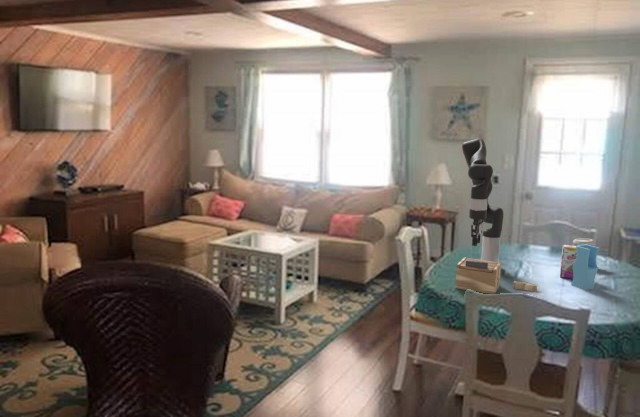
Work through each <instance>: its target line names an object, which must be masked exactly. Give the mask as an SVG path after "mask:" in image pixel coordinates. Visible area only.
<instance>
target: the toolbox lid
mask: <svg viewBox="0 0 640 417" xmlns="http://www.w3.org/2000/svg"><path fill="white" fill-rule="evenodd" d="M497 264H498V262H493V261H485V260H481V259H477V258H476V259H475V258H470V257H469V258H468V257H467V259H466V260H465V261H464V262H463V263H462V264H461V265H460V268H464V269H471V270H478V271H485V272H493V269H494V268H495V266H496V265H497Z"/></svg>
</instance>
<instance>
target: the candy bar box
mask: <svg viewBox="0 0 640 417" xmlns="http://www.w3.org/2000/svg"><path fill="white" fill-rule="evenodd" d="M561 249H562V250H561V258H560V260H561V261H560V268H559V269H560V270H559V277H560V278H563V279H564V278H565V279H572V280H573V264H574V262H575V260H576V257H577V249H576V246H573V245H568V244H562V248H561Z"/></svg>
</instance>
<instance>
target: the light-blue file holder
mask: <svg viewBox="0 0 640 417" xmlns="http://www.w3.org/2000/svg"><path fill="white" fill-rule="evenodd" d="M576 249H577V257H576V260H575V262H574V264H573V279H572V281H571V283H570V285H571V286H572V287H575V288H577V289H580V290H584V291H587V290H592V289H595V279H596V278H595V277H596V276H597V272H598V270H599V268H598V264H597V256H598V253H599V250H600V249H601V248H600V247H599V246H595V245H593V246H591V245H586V244H583V245H577V246H576Z"/></svg>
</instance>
